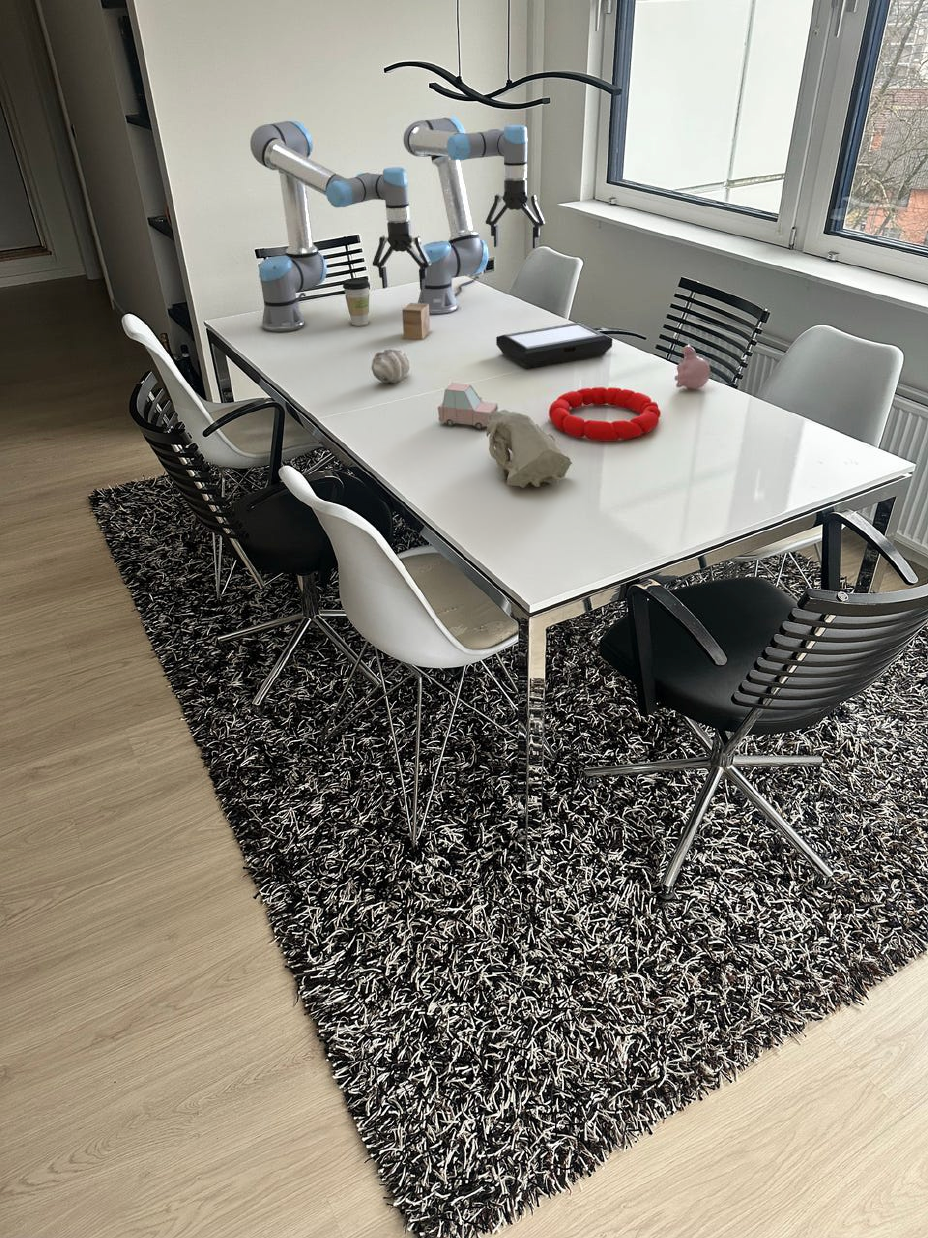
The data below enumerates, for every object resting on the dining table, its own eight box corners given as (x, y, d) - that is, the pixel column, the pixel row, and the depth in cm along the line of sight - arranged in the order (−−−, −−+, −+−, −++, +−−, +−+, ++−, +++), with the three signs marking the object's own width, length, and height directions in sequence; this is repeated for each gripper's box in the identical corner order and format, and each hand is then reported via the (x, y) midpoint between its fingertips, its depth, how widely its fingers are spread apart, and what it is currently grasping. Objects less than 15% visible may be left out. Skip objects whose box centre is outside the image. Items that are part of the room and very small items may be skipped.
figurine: (665, 387, 264) (669, 347, 257) (693, 380, 268) (698, 340, 261) (686, 396, 257) (690, 355, 250) (714, 388, 262) (720, 348, 255)
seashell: (364, 381, 275) (361, 349, 270) (407, 372, 281) (405, 341, 275) (377, 391, 268) (374, 358, 262) (421, 382, 273) (420, 349, 268)
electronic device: (524, 351, 275) (496, 334, 291) (524, 371, 279) (496, 353, 294) (612, 335, 286) (581, 320, 301) (611, 355, 289) (580, 338, 304)
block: (422, 339, 309) (420, 310, 303) (404, 338, 311) (402, 309, 305) (430, 332, 316) (428, 303, 310) (412, 330, 318) (410, 302, 312)
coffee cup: (372, 326, 323) (368, 283, 314) (345, 327, 323) (340, 284, 315) (374, 318, 331) (371, 276, 322) (348, 319, 331) (344, 277, 323)
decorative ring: (589, 435, 224) (684, 402, 234) (527, 398, 247) (617, 369, 256) (589, 461, 229) (683, 427, 238) (529, 422, 251) (617, 393, 260)
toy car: (488, 432, 240) (488, 396, 234) (436, 426, 244) (434, 390, 239) (499, 419, 247) (499, 384, 241) (448, 413, 252) (447, 379, 246)
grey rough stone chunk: (496, 517, 219) (521, 479, 201) (463, 429, 225) (484, 384, 207) (557, 503, 225) (586, 465, 206) (523, 417, 231) (549, 373, 212)
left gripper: (438, 218, 290) (442, 286, 302) (367, 218, 296) (373, 284, 308) (430, 223, 284) (434, 292, 296) (358, 222, 291) (365, 289, 302)
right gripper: (554, 177, 294) (552, 245, 306) (481, 176, 300) (482, 243, 312) (550, 180, 288) (548, 250, 300) (476, 179, 294) (477, 247, 306)
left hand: (403, 288), depth 302 cm, fingers open, 13 cm apart
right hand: (515, 246), depth 306 cm, fingers open, 13 cm apart
